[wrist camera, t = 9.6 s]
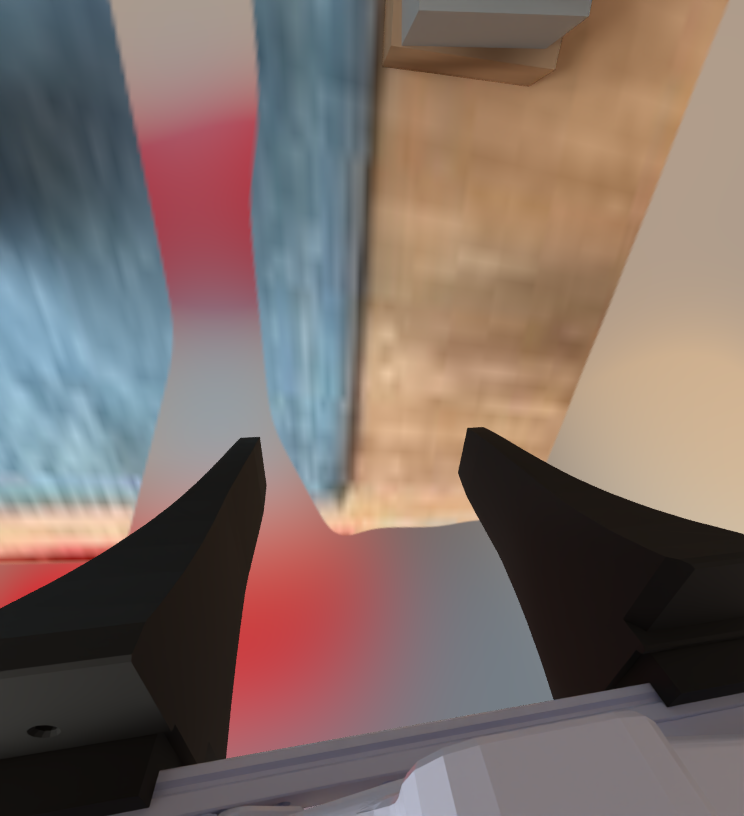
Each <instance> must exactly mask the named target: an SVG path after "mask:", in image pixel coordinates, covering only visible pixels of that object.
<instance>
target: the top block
mask: <svg viewBox="0 0 744 816" xmlns="http://www.w3.org/2000/svg"><path fill="white" fill-rule="evenodd" d="M591 3H592V0H402V46H442V47H487V48H535V49H546V48H547V47H549V46H550V45H551V44H553V43H554V42H555V41H557V40H558V39H559V38H561V37H562V36H563V35H565V34H566V33H567V32H569V31H570V30H571V29H573V28H574V27H575V26H577V25H578V24H579V23H581V22H582V21H583V20H585V19H586V18H587V17H589V14H590V8H591Z"/></svg>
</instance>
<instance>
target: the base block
mask: <svg viewBox="0 0 744 816" xmlns="http://www.w3.org/2000/svg"><path fill="white" fill-rule="evenodd" d="M562 37H563V36H562ZM562 37H561V38H559V39H558V40H557V41H555V42H554V43H553V44H551V45H550V46H549V47H547V48H546V49H535V48H487V47H442V46H402V0H386V1H385V21H384V41H383V61H382V66H383V67H390V68H397V69H405V70H412V71H419V72H427V73H434V74H441V75H449V76H456V77H463V78H471V79H478V80H485V81H493V82H500V83H507V84H515V85H522V86H530V85H532V84H533V83H535V82H536V81H538V80H540V79H541V78H543V77H544V76H546V75H547V74H549V73H551V72H552V71H554V70H555V68H556V63H557V59H558V55H559V50H560V46H561V42H562Z"/></svg>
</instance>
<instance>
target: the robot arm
mask: <svg viewBox="0 0 744 816" xmlns="http://www.w3.org/2000/svg"><path fill="white" fill-rule="evenodd" d="M458 474H459V477H460V480H461V482H462V485H463V488H464V490H465V493H466V495H467V498H468V500H469V501H470V503H471V505H472V507H473V509H474V511H475V513H476V514H477V516H478V518H479V520H480V522H481V523H482V525H483V527H484V529H485V531H486V532H487V534H488V536H489V538H490V540H491V541H492V543H493V545H494V547H495V549H496V550H497V552H498V554H499V556H500V558H501V560H502V562H503V564H504V567H505V569H506V571H507V574H508V576H509V578H510V581H511V583H512V586H513V588H514V590H515V593H516V595H517V598H518V600H519V602H520V605H521V608H522V610H523V613H524V615H525V618H526V620H527V623H528V626H529V629H530V631H531V634H532V637H533V640H534V643H535V645H536V648H537V651H538V653H539V656H540V659H541V662H542V665H543V668H544V671H545V674H546V677H547V681H548V683H549V687H550V690H551V693H552V696H553V699H554V700H552V701H546V702H540V703H534V704H529V705H523V706H518V707H512V708H506V709H501V710H495V711H490V712H484V713H479V714H473V715H467V716H462V717H456V718H451V719H445V720H440V721H434V722H429V723H423V724H417V725H412V726H406V727H400V728H395V729H389V730H384V731H378V732H373V733H367V734H362V735H356V736H350V737H345V738H339V739H333V740H328V741H323V742H317V743H312V744H306V745H301V746H295V747H289V748H283V749H278V750H272V751H266V752H261V753H255V754H250V755H245V756H239V757H233V758H227V759H226V752H227V742H228V732H229V721H230V711H231V702H232V701H231V700H232V693H233V684H234V675H235V666H236V656H237V650H238V641H239V634H240V625H241V619H242V611H243V603H244V597H245V590H246V585H247V580H248V575H249V571H250V567H251V563H252V558H253V555H254V550H255V546H256V542H257V538H258V534H259V530H260V525H261V521H262V516H263V512H264V503H265V494H266V478H265V471H264V464H263V457H262V450H261V443H260V437H249V438H240V439H239V440H238V441H237V442H236V443H235V444H234V445H233V446H232V447H231V448H230V449H229V450H228V451H227V453H226V454H225V455H224V456H223V457H222V458H221V459H220V460H219V461H218V462H217V463H216V464H215V465H214V466H213V467H212V468H211V469H210V470H209V471H208V472H207V473H206V474H205V475H204V476H203V477H202V478H201V479H200V480H199V481H198V482H197V483H196V484H195V485H194V486H193V487H191V488H190V489H189V490H188V491H187V492H186V493H185V494H184V495H183V496H181V497H180V498H179V499H178V500H177V501H176V502H174V503H173V504H172V505H171V506H169V507H168V508H167V509H166V510H164V511H163V512H162V513H160V514H159V515H158V516H156V517H155V518H154V519H152V520H151V521H150V522H148V523H147V524H146V525H144V526H143V527H141V528H140V529H138V530H137V531H135V532H134V533H132V534H131V535H129V536H128V537H126V538H125V539H123V540H122V541H120V542H119V543H117V544H116V545H114V546H113V547H111V548H110V549H108V550H107V551H105V552H103V553H102V554H100V555H98V556H97V557H95V558H93V559H92V560H90V561H88V562H87V563H85V564H83V565H81V566H80V567H78V568H76V569H75V570H73V571H71V572H69V573H68V574H66V575H64V576H62V577H60V578H58V579H56V580H55V581H53V582H51V583H49V584H47V585H45V586H43V587H41V588H39V589H38V590H36V591H34V592H32V593H30V594H28V595H26V596H24V597H22V598H20V599H18V600H16V601H14V602H12V603H10V604H8V605H6V606H4V607H2V608H0V816H744V534H741V533H738V532H734V531H730V530H726V529H722V528H718V527H714V526H710V525H707V524H702V523H699V522H695V521H691V520H688V519H684V518H681V517H678V516H675V515H671V514H668V513H665V512H662V511H658V510H655V509H652V508H649V507H646V506H644V505H641V504H638V503H635V502H632V501H630V500H627V499H624V498H622V497H619V496H616V495H614V494H611V493H609V492H606V491H604V490H601V489H599V488H597V487H595V486H592V485H590V484H588V483H586V482H584V481H581V480H579V479H577V478H575V477H573V476H570V475H568V474H567V473H565V472H563V471H561V470H559V469H557V468H555V467H553V466H551V465H549V464H548V463H546V462H544V461H542V460H540V459H539V458H537V457H535V456H533V455H532V454H530V453H528V452H526V451H525V450H523V449H521V448H520V447H518V446H516V445H515V444H513V443H511V442H510V441H508V440H506V439H504V438H503V437H501V436H499V435H498V434H496V433H494V432H492V431H490V430H488V429H486V428H484V427H477V428H467V433H466V438H465V442H464V447H463V452H462V457H461V461H460V466H459V471H458ZM321 804H322V805H321ZM317 805H319V806H317ZM312 806H316V807H313V808H309V809H307V810H304V809H303V808H306V807H312Z"/></svg>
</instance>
